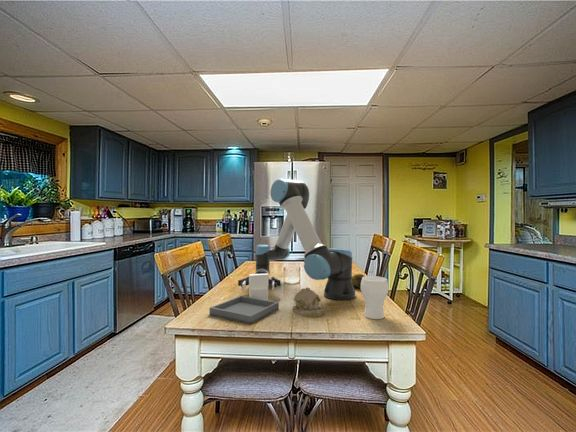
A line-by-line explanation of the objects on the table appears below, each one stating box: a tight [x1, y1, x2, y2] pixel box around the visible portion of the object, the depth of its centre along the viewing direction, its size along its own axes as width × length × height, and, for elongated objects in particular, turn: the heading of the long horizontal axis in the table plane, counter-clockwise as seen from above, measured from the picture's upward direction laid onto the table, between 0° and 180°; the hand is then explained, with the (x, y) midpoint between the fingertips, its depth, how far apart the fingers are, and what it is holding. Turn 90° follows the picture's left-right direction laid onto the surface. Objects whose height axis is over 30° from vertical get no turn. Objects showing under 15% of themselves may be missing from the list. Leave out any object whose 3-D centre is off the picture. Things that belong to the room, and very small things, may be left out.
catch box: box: [209, 295, 280, 325], centre depth 129 cm, size 20×20×3 cm
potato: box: [352, 273, 365, 289], centre depth 171 cm, size 8×13×8 cm, turn 176°
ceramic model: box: [292, 287, 324, 318], centre depth 131 cm, size 14×11×10 cm
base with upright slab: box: [248, 273, 269, 301], centre depth 146 cm, size 9×9×12 cm
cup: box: [360, 275, 389, 320], centre depth 125 cm, size 11×11×15 cm
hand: (258, 287), depth 143 cm, fingers open, 13 cm apart
